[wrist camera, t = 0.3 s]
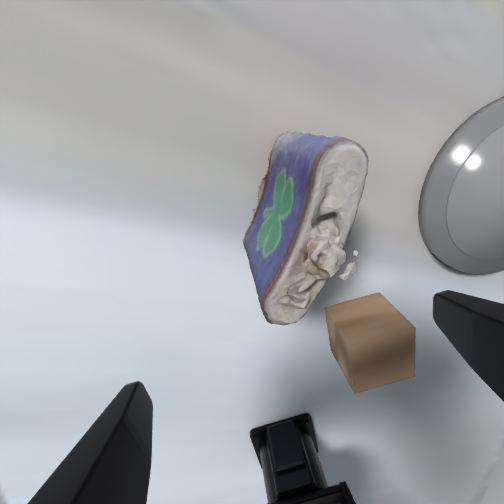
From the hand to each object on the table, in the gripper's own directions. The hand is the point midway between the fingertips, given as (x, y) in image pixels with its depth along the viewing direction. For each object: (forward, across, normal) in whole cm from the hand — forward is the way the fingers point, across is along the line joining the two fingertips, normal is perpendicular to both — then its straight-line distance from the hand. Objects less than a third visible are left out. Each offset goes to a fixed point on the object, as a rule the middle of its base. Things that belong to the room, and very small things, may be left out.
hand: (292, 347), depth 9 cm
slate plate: (+14, -21, +4) cm, 25 cm away
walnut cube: (+14, -8, +12) cm, 20 cm away
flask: (+14, -3, -1) cm, 14 cm away
